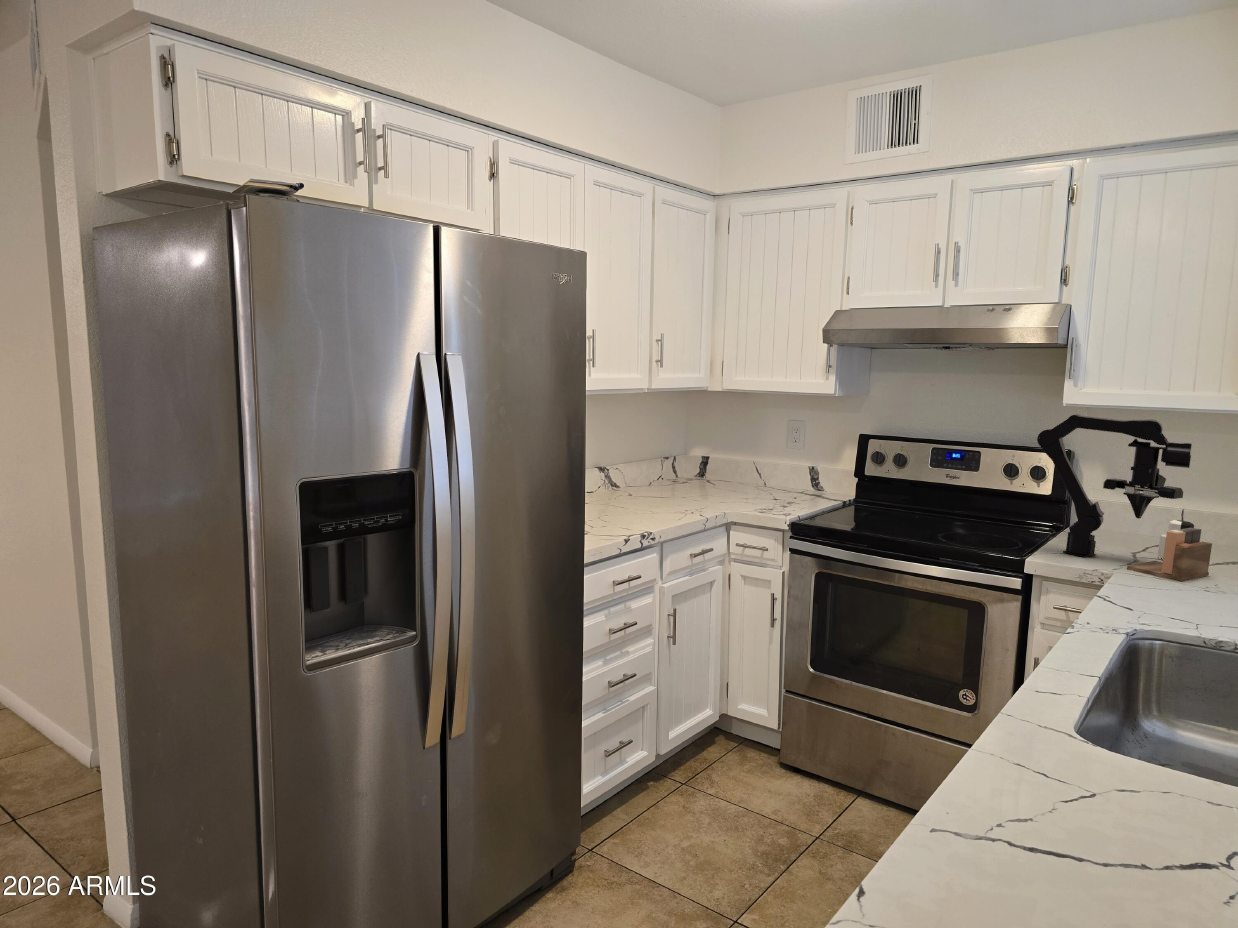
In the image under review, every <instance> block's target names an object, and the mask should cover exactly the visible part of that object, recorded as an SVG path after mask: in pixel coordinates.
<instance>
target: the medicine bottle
mask: <svg viewBox="0 0 1238 928" xmlns="http://www.w3.org/2000/svg"><path fill="white" fill-rule="evenodd" d="M1185 528H1195V524H1194V523H1192V522H1191V521H1186V520H1177V519H1173V520H1171V521H1169V522H1168V529H1167V532H1168V531H1170V530H1179V529H1185ZM1165 542H1166V534H1160V536H1159V543H1158V547H1157V548H1158V550H1157V556H1158V557H1160V558H1162V559H1163V556H1164V549H1165ZM1158 557H1157V558H1158ZM1162 559H1161V560H1162Z"/></svg>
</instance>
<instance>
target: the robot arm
mask: <svg viewBox="0 0 1238 928" xmlns="http://www.w3.org/2000/svg"><path fill="white" fill-rule="evenodd" d="M1077 429H1084V430H1091V431H1092V430H1093V431H1099V432H1107V433H1119V434H1124V435H1127V436H1131V437H1133V438H1134V439H1133V440H1132V442H1129V443H1128V444H1127V446H1128V448H1129V447H1130V448H1131V447H1132V448H1135V450H1134V458H1133V463H1132V464H1133V465H1132V466H1130V468H1129V470H1130V471H1132V472H1131V479H1130V480H1127V479H1122V478H1106V479H1105V480H1104V481H1103V486H1102V488H1103V489H1105V490H1110V491H1111V490H1113V491H1114V490H1116V489H1122V490H1125V491H1124V492H1123V495H1124V496H1126V497H1127V499H1128V501H1129V503H1130V505H1131V508H1132V511H1133V515H1134V516H1135V518H1136V519H1141V518H1142V516H1143V515H1144V513H1145V512H1146V510H1147V508H1148V507H1149V505H1150V504H1151V502H1153V500H1154V499H1159V498H1165V499H1171V500H1175V499H1176V500H1177V499H1183V498H1184V491H1183V489H1182V487H1176V486H1169V485H1166V486H1165V484H1166V482H1167V478H1166V477H1164V476H1163V475H1162V474H1160V468H1159V467H1158V466H1159V465H1158V464H1159V456H1160V450H1161V457H1160V462H1161V463H1164V466H1165V467H1174V468H1186V469H1190V466H1191V461H1192V460H1191V459H1192V454H1191V453H1192V447H1193V446H1192V443H1191V442H1190V443H1189V442H1184V443H1183V442H1181V443H1180V442H1170V441H1169V440H1168V438H1167V437H1166V436H1165V434H1164V433H1163V431H1164V429H1163V425H1162V423H1161V422H1159V421H1158V420H1156V419H1153V418H1152V419H1151V418H1150V419H1131V420H1129V419H1127V420H1124V419H1115V418H1114V419H1113V418H1108V417H1106V418H1104V417H1096V416H1089V415H1088V416H1086V415H1081V414H1077V413H1076V414H1072V415H1069V416H1068V418H1066V419H1065V420H1064V421H1062V422H1061V423H1059V424H1057V425H1056V426H1054V427H1053V428H1048V429H1044V430H1042V431H1040V432H1039V434H1038V435H1037V438H1036V441H1037V444H1038V445H1039V447H1040V448H1041V450H1042V451H1043V452H1044V453H1045V455H1046V456H1048V458H1049V459H1050V460H1051V462H1052V463H1053V465H1054V467H1055V468H1056V471H1057V472H1058V474H1059V477H1060V479H1061V481H1062V483H1063V485H1064V486H1065V489H1066V490H1067V492H1068V494H1069V497H1070V499H1071V500H1072V503H1073V506H1074V511H1075V515H1076V519H1077V520H1076V521H1075V522H1073V523H1072V524H1071V525H1070V526H1069V528H1068V530H1069V531H1067V538H1066V547H1065V550H1062V553H1064V554H1068V553H1070V554H1069V555H1072V556H1076V557H1082V558H1088V557H1094V556H1096V553H1095V551H1096V544H1097V543H1096V540H1095V538H1096V535H1094V534H1092V533H1093V532H1095V531H1097V530H1099V529H1100V527H1101V526H1102V525H1103V523H1104V515H1105V512H1104V511H1102V509H1101V507H1100V504H1099V501H1096V502H1092V501H1091V499H1089V496H1088V495H1087V493H1086V491H1085V489H1084V486H1082V484H1081V481H1080V479H1079V477H1078V476H1077V474H1076V472H1075V469H1074V468H1073V466H1072V464H1071V461H1070V460H1069V457H1068V456H1067V451H1066V447H1065V443H1064V439H1063V438H1064V437H1065V438H1066V436H1068V435H1069V434H1071V433H1073V432H1074V431H1075V430H1077ZM1138 439H1140V440H1144V441H1139V440H1138ZM1150 441H1152V442H1153V443H1155V444H1156V445H1157V446H1156V445H1152V443H1151V442H1150Z"/></svg>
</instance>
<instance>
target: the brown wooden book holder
mask: <svg viewBox="0 0 1238 928" xmlns="http://www.w3.org/2000/svg"><path fill="white" fill-rule="evenodd" d="M1179 531H1183V532H1186V533H1185V540H1184V544H1179V545H1177V546H1176V549H1175V556H1174V563H1173V570H1172V574H1168V573H1164V572H1161V570H1162V563H1163V561H1158V560H1152V561H1146V562H1141V563H1136V564H1135V563H1134V564H1129V565H1127V567H1126V570H1129V571H1132V570H1133V572H1137V573H1141V572H1142V574H1146V575H1151V576H1155V577H1159V578H1163V579H1168V580H1172V581H1176V582H1180V583H1182V582H1186V581H1187V582H1188V581H1191V580H1196V579H1200V578H1204V577H1209V574H1210V573H1209V567H1210V562H1211V561H1210V560H1211V554H1212V548H1213V543H1212V542H1207V541H1206V542H1205V541H1201V534H1202V529H1201V528H1196V527H1194V528H1185V529H1179Z"/></svg>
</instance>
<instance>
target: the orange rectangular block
mask: <svg viewBox="0 0 1238 928" xmlns="http://www.w3.org/2000/svg"><path fill="white" fill-rule="evenodd" d="M1185 533H1186V532H1183V531H1179V530H1170V531H1168V530H1167V531H1166V534H1165V535H1166V542H1165V549H1164V556H1163V560H1162V562H1163V563H1162V570H1161V572H1164V573H1168V574H1172V570H1173V563H1174V556H1175V549H1176V546H1177V545H1179V544H1184V540H1185Z"/></svg>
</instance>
